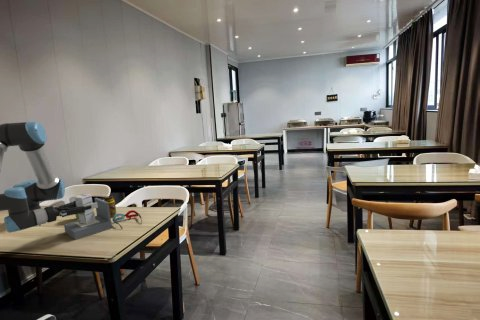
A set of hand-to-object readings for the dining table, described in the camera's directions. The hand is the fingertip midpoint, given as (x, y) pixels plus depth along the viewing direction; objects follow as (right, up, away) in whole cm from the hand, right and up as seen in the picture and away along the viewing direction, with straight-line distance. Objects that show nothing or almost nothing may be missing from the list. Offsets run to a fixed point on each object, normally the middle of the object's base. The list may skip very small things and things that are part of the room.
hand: (93, 203), depth 163 cm
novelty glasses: (+16, -12, +6) cm, 21 cm away
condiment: (+1, -11, +19) cm, 22 cm away
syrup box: (-2, -10, -2) cm, 10 cm away
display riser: (-2, -14, -1) cm, 14 cm away
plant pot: (-16, -12, +20) cm, 28 cm away
